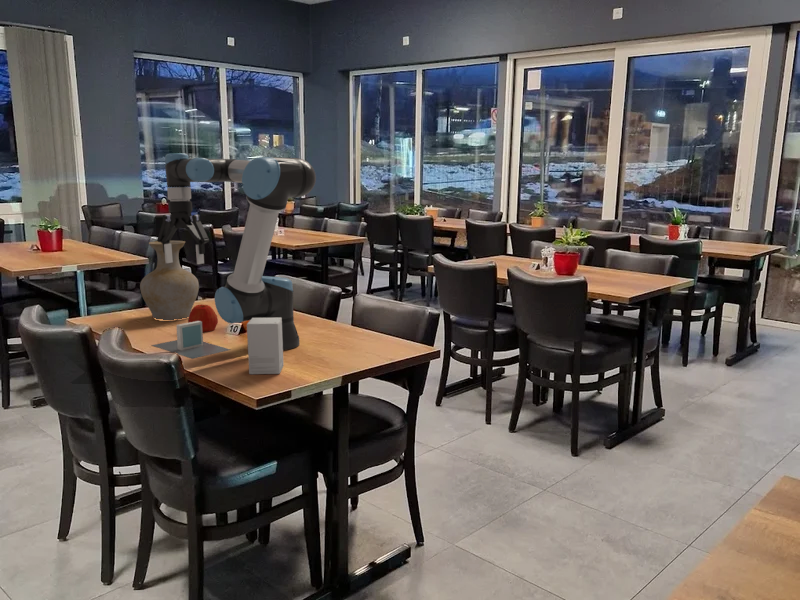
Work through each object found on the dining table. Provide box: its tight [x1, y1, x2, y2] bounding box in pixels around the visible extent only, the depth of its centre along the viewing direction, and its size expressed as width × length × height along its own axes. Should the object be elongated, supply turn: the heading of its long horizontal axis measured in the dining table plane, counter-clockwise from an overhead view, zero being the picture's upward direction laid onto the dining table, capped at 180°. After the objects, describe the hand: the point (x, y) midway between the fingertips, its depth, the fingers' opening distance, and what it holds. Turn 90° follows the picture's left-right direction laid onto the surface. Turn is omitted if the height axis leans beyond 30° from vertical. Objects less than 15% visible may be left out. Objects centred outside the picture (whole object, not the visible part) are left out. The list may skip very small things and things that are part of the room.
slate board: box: [151, 339, 232, 360], centre depth 215 cm, size 24×14×1 cm, turn 49°
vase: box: [139, 240, 200, 320], centre depth 261 cm, size 22×22×30 cm
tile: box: [175, 321, 204, 350], centre depth 214 cm, size 2×8×8 cm, turn 139°
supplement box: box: [246, 318, 284, 375], centre depth 193 cm, size 9×9×15 cm
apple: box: [187, 304, 219, 333], centre depth 239 cm, size 10×10×10 cm
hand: (184, 263), depth 227 cm, fingers open, 13 cm apart
